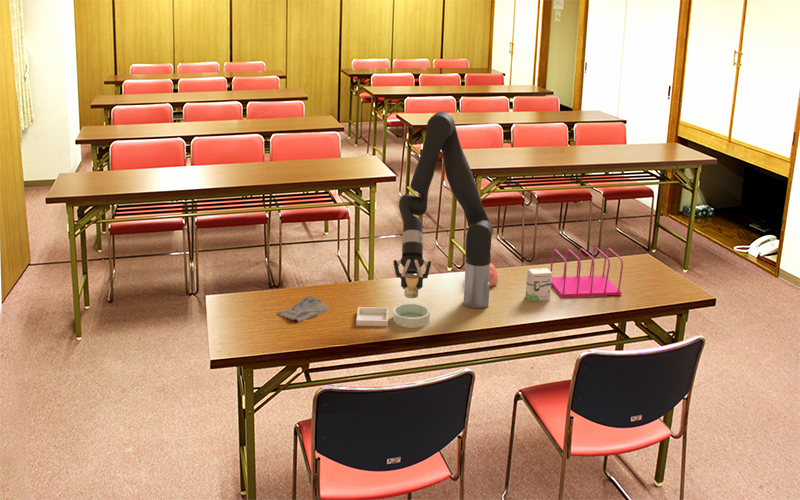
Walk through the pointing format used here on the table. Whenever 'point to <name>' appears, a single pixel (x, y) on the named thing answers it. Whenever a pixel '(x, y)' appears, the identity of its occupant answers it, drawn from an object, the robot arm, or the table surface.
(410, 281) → the glass jar with lid
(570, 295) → the file sorter
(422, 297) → the table surface
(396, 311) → the bowl
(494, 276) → the teapot
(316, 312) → the fossil rock
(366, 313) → the parts tray
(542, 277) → the ink box
